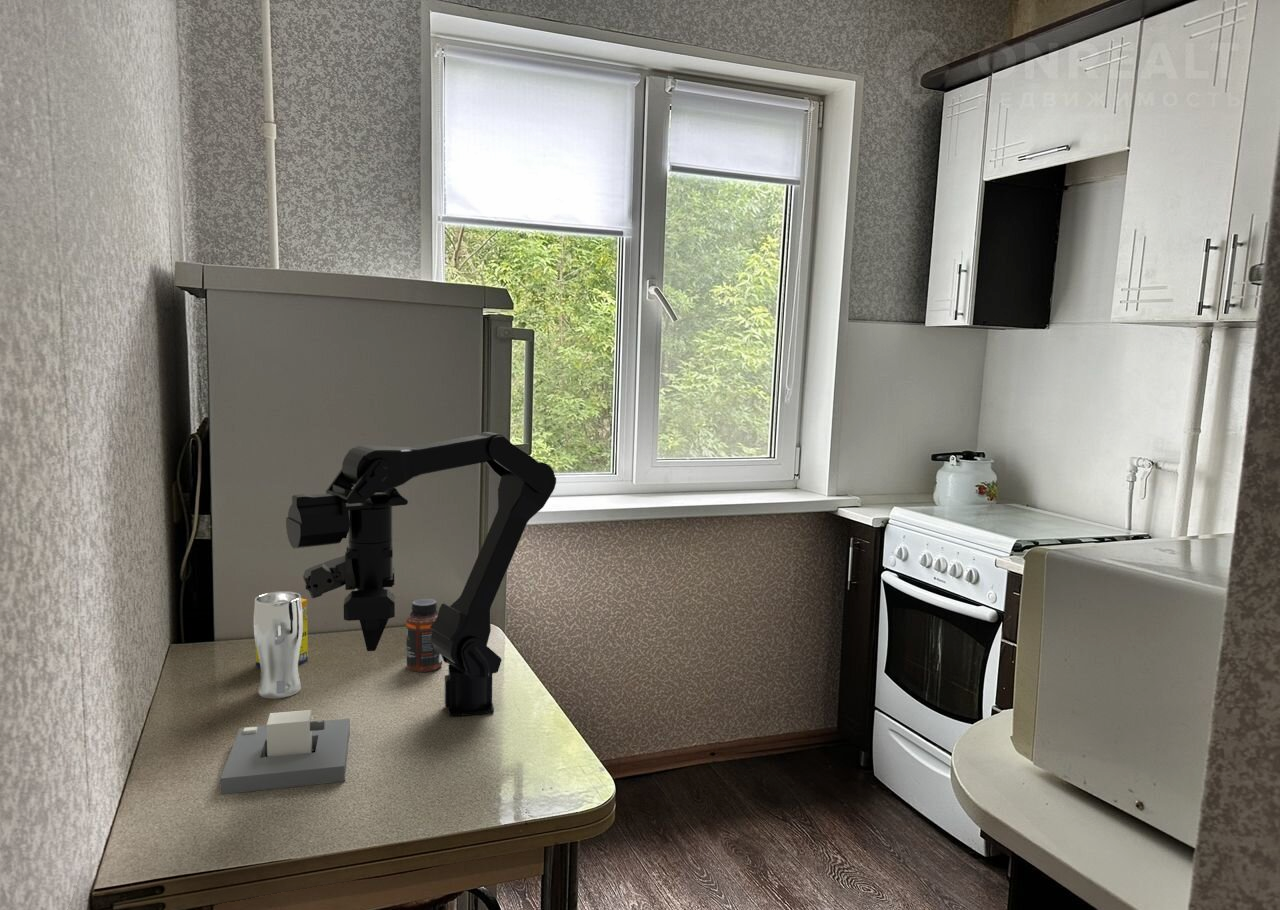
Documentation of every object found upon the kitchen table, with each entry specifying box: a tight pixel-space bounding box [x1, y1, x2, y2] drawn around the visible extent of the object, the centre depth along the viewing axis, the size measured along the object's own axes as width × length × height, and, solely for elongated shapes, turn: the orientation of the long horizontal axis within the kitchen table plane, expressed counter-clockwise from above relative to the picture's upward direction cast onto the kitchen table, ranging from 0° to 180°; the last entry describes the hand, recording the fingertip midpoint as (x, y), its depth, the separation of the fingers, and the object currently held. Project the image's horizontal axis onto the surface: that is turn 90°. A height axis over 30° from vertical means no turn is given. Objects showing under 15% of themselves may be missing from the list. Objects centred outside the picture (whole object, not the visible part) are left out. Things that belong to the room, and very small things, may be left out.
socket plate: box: [219, 718, 351, 795], centre depth 110 cm, size 14×14×2 cm
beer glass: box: [253, 590, 303, 700], centre depth 131 cm, size 7×7×15 cm
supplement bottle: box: [405, 598, 443, 673], centre depth 143 cm, size 6×6×11 cm
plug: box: [266, 709, 325, 757], centre depth 110 cm, size 7×4×6 cm, turn 106°
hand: (371, 650), depth 117 cm, fingers closed
